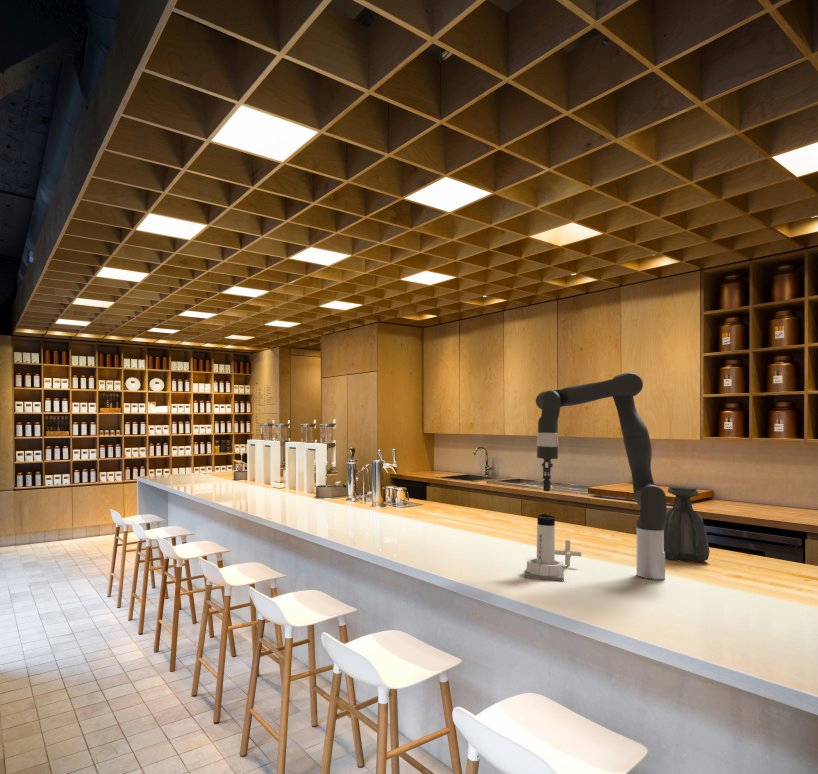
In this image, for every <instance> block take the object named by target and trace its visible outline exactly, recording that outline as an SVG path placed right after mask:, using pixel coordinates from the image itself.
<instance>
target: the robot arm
mask: <svg viewBox="0 0 818 774" xmlns="http://www.w3.org/2000/svg"><path fill="white" fill-rule="evenodd" d="M643 386H644V383H643V379H642V378H641V376H640V375H638V374H637V373H634V372H624V373H621V374H618V375H615V376H614V377H612V378H611V379H607V380H603V381H602V380H601V381H596V382H591V383H589V382H588V383H581V384H576V385H572V386H566V387H564V388H559V389H554V390H546V391H541V392H540V393H538V395H537V396H536V398H535V405H536V406H537V407H538V409H540V410H541V415H540V417H539V418H538V420H537V421H538V422H537V437H536V458H537V459H543V463H541V475H542V481H543V491H544V492H550V491H551V479H552V475H553V467H554V464H553V463H552V460H556V459H559V436H558V431H559V430H558V428H559V426H558V421H559V417H560V412H561V408H562V407H569V406H571V407H572V406H576V405H582V404H586V403H590V402H594V401H598V400H601V399H607V398H611V397H612V399H613V402H614V405H615V408H616V410H617V411H616V412H617V415H618V420H619V424H620V425H619V426H620V430H621V433H622V440H623V444H624V449H625V452H626V457H627V461H628V462H627V463H628V466H629V468H630V472H631V481H632V490H633V497H634V500H635V502H636V504H637V505H638V506H639V507H640V509H639V517H638V519H636V576H637V575H638V576H637V577H639V576H641V577H640V578H642V577H645V578H644V579H647V578H650V579H649V580H666V557H665V552H664V524H665V521H666V511H667V505H668V504H667V496H666V492H665V491H664V490H663V488H662V487H660V486H657V485H656V484H655V481H654V478H653V474H652V469H651V468H652V464H651V463H652V454H653V452H652V451H653V450H652V443H651V442H652V441H651V438H650V433H649V431H648V428H647V426H646V424H645V422H644V420H643V418H642V417H641V416H640V413H638V410H637V407H636V404H635V399H634V397H635V396H637V395H639V394H640V393H641V392H642V390H643V388H644V387H643ZM651 578H652V579H651Z"/></svg>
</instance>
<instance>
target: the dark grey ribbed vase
mask: <svg viewBox="0 0 818 774" xmlns="http://www.w3.org/2000/svg"><path fill="white" fill-rule="evenodd" d="M697 490H698V488H695V487H688V486H668V487H667V493H669V494H672V495H673V496H675V498H674V501H673V504H672V507H669V508H668V509H666V521H665V524H664V552H665V559H666V558H667V559H668V560H670V561H678V560H680V562H681V561H682V562H690V561H693V563H703V562H706V561H708V560H709V556H710V546H709V540H708V535H707V533H708V532H707V529H706V526H705V524H704V518H703V517H702V515H701V514H700V513H699V512H697V511H696V510H694V508H693V505H692V500H691V498H692V497H698V496H699V491H697Z"/></svg>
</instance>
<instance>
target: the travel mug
mask: <svg viewBox="0 0 818 774" xmlns="http://www.w3.org/2000/svg"><path fill="white" fill-rule="evenodd" d="M536 518H537V523H536V525H537V526H536V558H537V564H542V565H554V561H555V560H556V559H555V550H556V547H555V545H556V544H555V543H556V523H555V522H556V517H555V516H553V515H550V514H546V513H541V514H539V515H537V517H536Z"/></svg>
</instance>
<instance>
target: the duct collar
mask: <svg viewBox="0 0 818 774" xmlns="http://www.w3.org/2000/svg"><path fill="white" fill-rule="evenodd" d="M563 567H564V563H563V562H562V561H560V560H557V559H555V561H554V565H542V564H537V557H536V558H535V557H534V558H532V557H531V558H528V559H527V560H526V569H525V572H524V578H525V577H529V578H528V579H533V578H540V579H539V580H544V579H551V580H550V581H554V580H563V581H562V582H565V580H564V579H565V577H564V576H565V572H564V571H565V569H563Z"/></svg>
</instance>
